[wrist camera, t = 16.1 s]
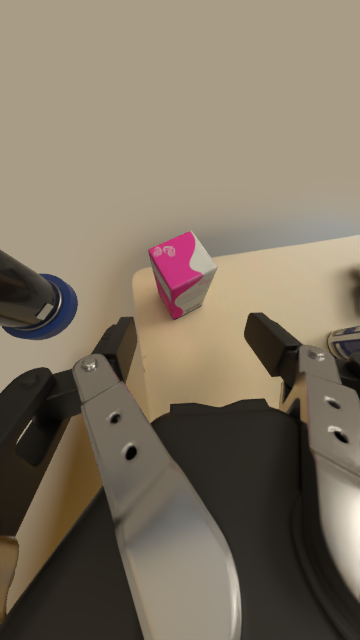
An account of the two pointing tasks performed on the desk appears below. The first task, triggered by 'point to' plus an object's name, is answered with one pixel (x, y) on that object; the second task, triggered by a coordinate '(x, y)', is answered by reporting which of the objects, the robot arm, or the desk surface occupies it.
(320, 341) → the desk surface
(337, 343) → the pill bottle
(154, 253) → the supplement box
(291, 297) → the desk surface
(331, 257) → the desk surface
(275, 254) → the desk surface
